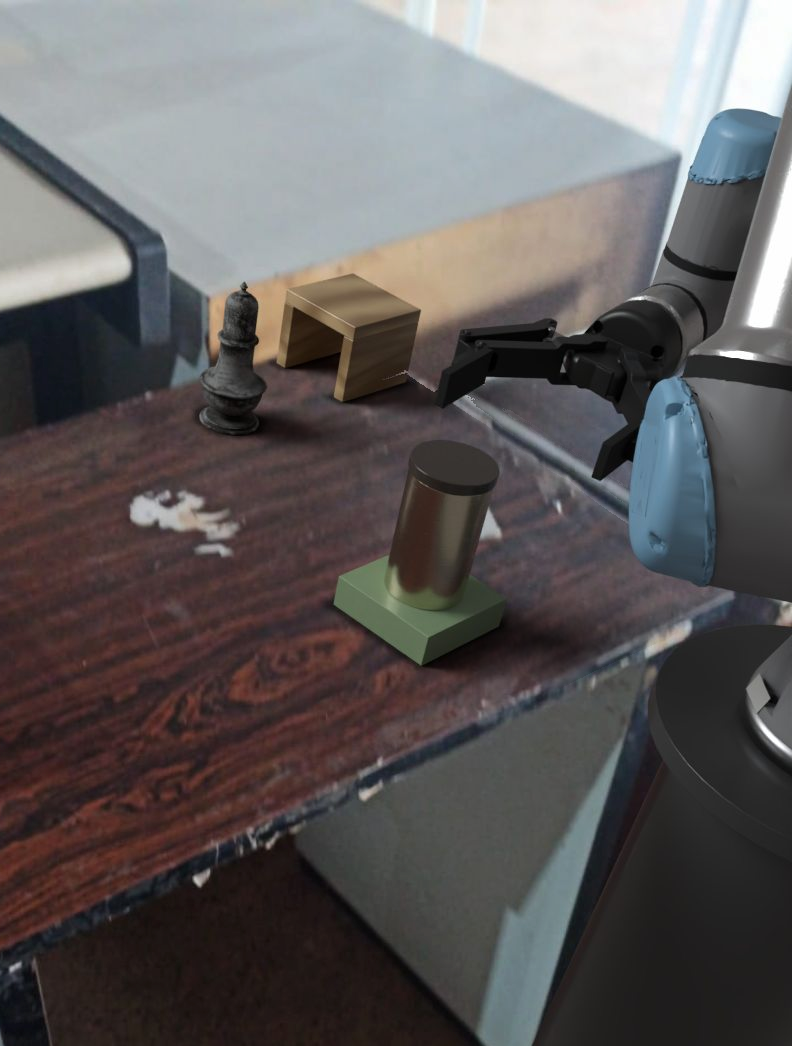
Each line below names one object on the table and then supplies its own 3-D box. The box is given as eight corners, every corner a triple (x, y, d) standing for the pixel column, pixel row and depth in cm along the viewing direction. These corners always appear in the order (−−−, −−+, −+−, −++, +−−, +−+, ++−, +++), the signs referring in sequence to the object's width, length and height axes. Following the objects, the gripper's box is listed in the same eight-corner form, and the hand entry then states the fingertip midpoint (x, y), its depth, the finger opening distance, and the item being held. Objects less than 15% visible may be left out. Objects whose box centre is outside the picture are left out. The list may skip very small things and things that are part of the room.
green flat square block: (499, 626, 97) (507, 598, 95) (421, 666, 92) (428, 637, 90) (412, 569, 101) (419, 541, 99) (333, 604, 96) (338, 575, 94)
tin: (481, 595, 95) (517, 471, 88) (427, 621, 91) (460, 494, 84) (420, 555, 98) (450, 431, 90) (365, 579, 94) (392, 453, 87)
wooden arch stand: (406, 382, 124) (421, 309, 119) (342, 402, 119) (355, 327, 114) (340, 344, 128) (353, 272, 123) (276, 363, 123) (286, 288, 118)
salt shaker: (193, 430, 111) (206, 290, 103) (198, 400, 115) (211, 262, 107) (260, 440, 112) (278, 301, 103) (263, 410, 116) (281, 273, 107)
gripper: (759, 446, 106) (654, 541, 93) (501, 335, 114) (371, 408, 101) (798, 357, 100) (691, 444, 87) (524, 247, 108) (389, 312, 95)
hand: (519, 425), depth 94 cm, fingers open, 13 cm apart
